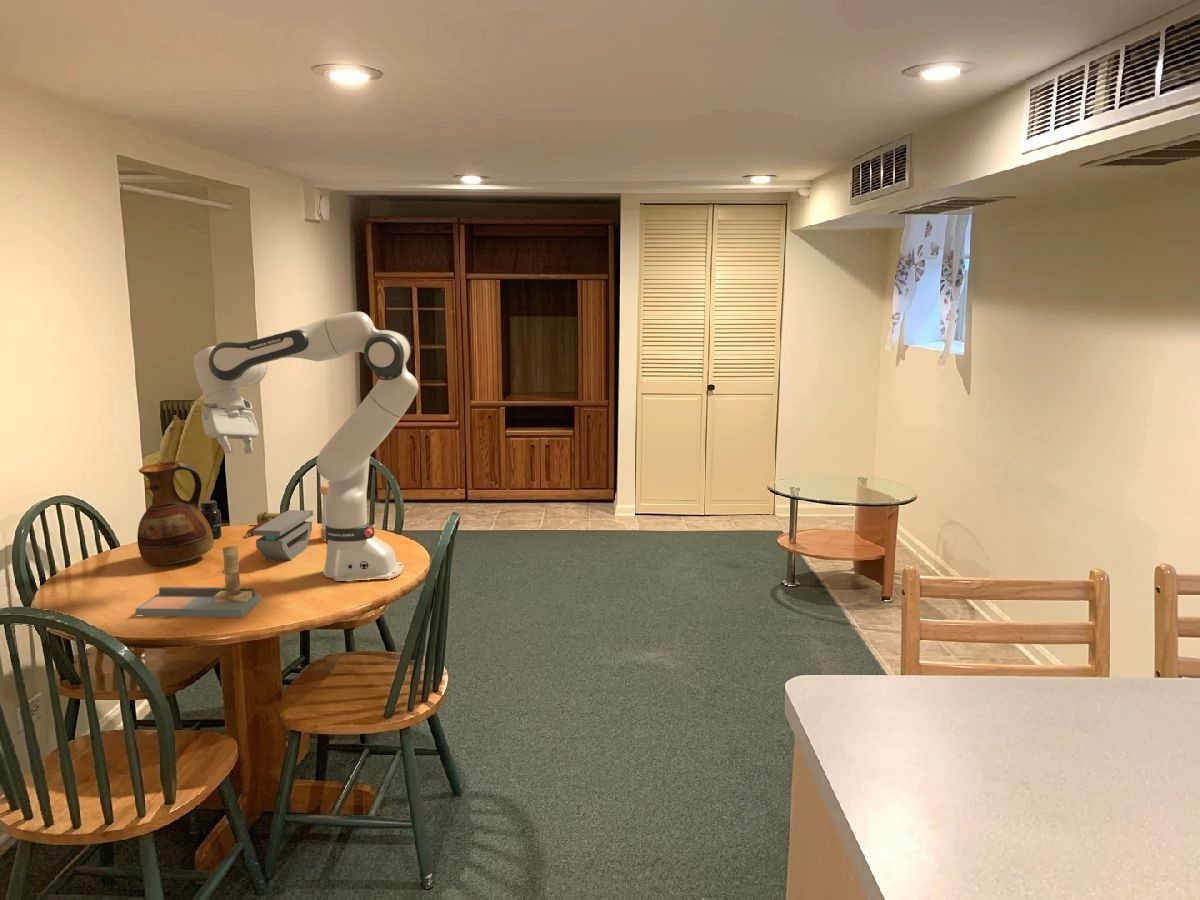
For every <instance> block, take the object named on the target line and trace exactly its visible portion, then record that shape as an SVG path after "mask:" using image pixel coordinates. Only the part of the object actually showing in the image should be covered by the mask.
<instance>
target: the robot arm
mask: <svg viewBox="0 0 1200 900" xmlns="http://www.w3.org/2000/svg"><path fill="white" fill-rule="evenodd" d="M352 353H353V354H354V353H363V358H364V360H365V363H366V364H367V366H369V367H368V368H370V370H371V371H372V372H373V374H375V377H377V379H378V380H377V382H376V384H375V385H374V386H373V387H372V389H371V390H370V391H369V392H368V394H367V395H366V397H365V398H364V399H363V400H362V402H361V403H360V404H359V406H358V407H357V408H356V410H354V412H353V413H352V414H351V415H350V416H349V418H348V419H347V420H346V421H345V422H344V423H343V424H342V425H341V427H340V428H339V429H338V430H337V431H336V432H335V433H334V434H333V436H332V437H331V438H330V439H329V440H328V442H326V443H325V445H324V446H323V447H322V448H321V450H320V451H319V454H318V455H317V458H316V462H315V464H316V470H317V471H318V473H319V475H321V477H323V479H324V480H327V481H328V482H329V487H328V492H327V496H326V515H327V525H326V529H325V539H326V541H325V543H326V553H325V554H326V555H325V562H324V568H323V571H322V575H323V576H324V575H325V577H326V578H329V577H330V578H329V579H332V578H333V579H332V580H334V581H335V582H337V581H347V580H348V581H347V582H350V581H349V580H356V579H367V578H386V577H387V578H389V577H393V576H395V575H397V574H399V573H400V572H401V571H402V569H403V567H404V568H405V566H404V564H403V563H402V562H400V561H397V559H396V554H395V551H394V549H393V547H392V546H390V545H389V544H387V543H385V542H384V541H383V540H381V539H380V538H379V537H377V536H376V535H375V528H376V524H371V523H369V522H368V509H367V507H368V506H367V493H368V485H369V484H368V483H369V471H370V458H371V455H372V453H374V451H376V449H377V448H378V447H379V446H380V445H381V443H383V441H384V440H385V439H386V438H387V436H388V435H389V434H390V433H391V432H392V430H393V429H394V428H395V426H396V425H397V424H398V423H399V421H400V420H401V418H403V416H404V414H405V413H406V412H407V410H408V409H409V408H410V406H411V405H412V403H413V401H414V399H415V397H416V395H417V394H418V391H419V383H418V381H417V379H416V377H415V376H414V374H412V373H410V372H409V370H408V368H407V363H408V362H409V361H410V359H411V356H412V345H411V342H410V340H409V338H408V337H407V336H406V335H405V334H403V333H402V332H400V331H397V330H393V329H388V328H382V327H377V328H376V327H375V324H374V322H373V320H372V319H371V318H370V316H369V315H368V314H367V313H366V312H362V311H351V312H345V313H340V314H336V315H332V316H328V317H325V318H323V319H320V320H317V321H314V322H312V323H308V324H306V325H302V326H300V327H296V328H294V329H291V330H288V331H285V332H280V333H276V334H273V335H268V336H265V337H261V338H258V339H254V340H250V341H247V342H233V341H224V342H221V343H218V344H217V345H213V346H212V345H211V346H207V347H204V348H202V349H200V350H199V351H198V352H197V353H196V354H195V355H194V358H193V366H194V372H195V375H196V379H197V382H198V386H199V387H200V388H201V389H202V394H203V396H202V398H203V401H204V403H203V404H202V406H201V408H200V409H201V422H202V425H203V426H202V427H203V430H204V433H205V435H206V436H207V438H209V439H217V442H218V444H219V445H220V446H221V448H222V450H223V453H224V454H231V453H233V452H234V449H233V445H231V444H230V443H229V440H232V439H233V440H242V442H243V443H244V447H243V452H244V454H252V453H254V449H253V439H254V438H256V437H258V436H259V433H260V431H259V427H258V423H257V419H256V417H255V414H254V413H253V411H251V410H252V409H253V404H252V403H251V402H250V401H248V400H246V399H245V398H244V397H242V396H241V395H240V394H239V392H238V388H239V387H246V386H251V385H256V384H258V383H260V382H261V381H262V380H263V379H264V378H265V376H266V373H267V363H270V362H272V361H276V360H280V359H281V360H282V359H286V358H287V359H289V358H291V359H292V358H294V359H295V358H296V359H302V360H307V361H314V362H323V361H324V362H325V361H331V360H335V359H338V358H341V357H344V356H347V355H349V354H352ZM228 439H229V440H228ZM399 565H401V566H399Z"/></svg>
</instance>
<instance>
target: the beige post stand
mask: <svg viewBox="0 0 1200 900" xmlns="http://www.w3.org/2000/svg"><path fill="white" fill-rule="evenodd" d="M222 553H223V571H224V585H225V586H224V588H226V591H220V592H219V593H217V594H216V595H215V596H214V602H247V601H248V600H249V599H250V598H251V597H252V591H240V588H241V582H240V581H241V579H240V568H239V567H240V566H239V565H240V564H239V549H238V546H236V545H227V546H225V547H223V548H222Z"/></svg>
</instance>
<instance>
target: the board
mask: <svg viewBox="0 0 1200 900" xmlns="http://www.w3.org/2000/svg"><path fill="white" fill-rule="evenodd" d="M158 590H159V592H158V593H157V594H155V595H153V596H152V597H150V598H149V599H148V600H146V601H145V602H143V603H142V604H140V605H139V606H138V607H135V616H136V615H143V616H142V617H144V616H176V617H175V618H243V617H245V615H246V614H248V613H249V612H250V611H251V610H252V609H253V608H254V607H255V606H256V605H258V604H259V603H260V602H261V593H256V591H255V587H240V591H252V597H251V598H250V599H249V600H248V601H247V602H214V596H215V595H216V594H217V593H219V592H220V591H226V588H225V587H216V586H214V587H205V586H204V587H201V586H198V587H195V586H194V587H193V586H191V587H190V586H186V587H185V586H160V587H159V589H158Z"/></svg>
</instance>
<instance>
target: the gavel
mask: <svg viewBox="0 0 1200 900" xmlns="http://www.w3.org/2000/svg"><path fill="white" fill-rule="evenodd" d="M283 513H284V512H281V513H275V512H266V511H259V512H258V513H257V515H256V523H257V524H256V525H254V526H253V527H251V528H250V529H249V530H247V531H246V533H245V535H244V538H247V539H248V538H251V537H254V536H255V535H254V530H255V529H257V528H258V527H260V526H262V525H264V524H265V523H267V522H269V521H271V520H272V519H274V518H276V517H278V516H279V515H281V514H283Z"/></svg>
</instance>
